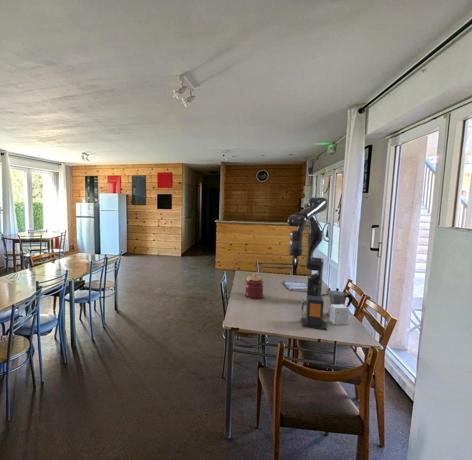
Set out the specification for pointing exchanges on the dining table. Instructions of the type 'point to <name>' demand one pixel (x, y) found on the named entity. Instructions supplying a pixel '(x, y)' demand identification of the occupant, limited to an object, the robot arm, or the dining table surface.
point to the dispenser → (314, 313)
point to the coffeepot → (338, 298)
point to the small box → (339, 314)
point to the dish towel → (295, 285)
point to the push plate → (302, 304)
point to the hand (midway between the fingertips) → (294, 274)
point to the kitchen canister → (254, 287)
